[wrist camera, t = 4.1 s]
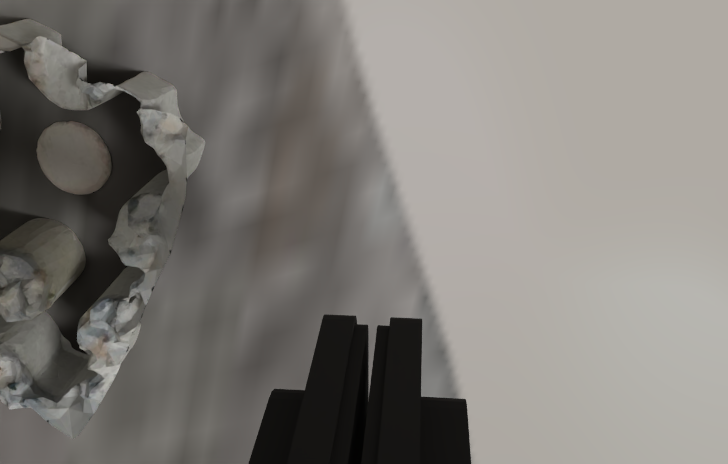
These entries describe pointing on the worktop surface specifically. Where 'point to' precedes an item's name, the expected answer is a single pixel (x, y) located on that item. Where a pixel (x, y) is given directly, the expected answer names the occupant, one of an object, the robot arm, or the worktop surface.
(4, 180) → the worktop surface
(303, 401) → the robot arm
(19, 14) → the worktop surface
